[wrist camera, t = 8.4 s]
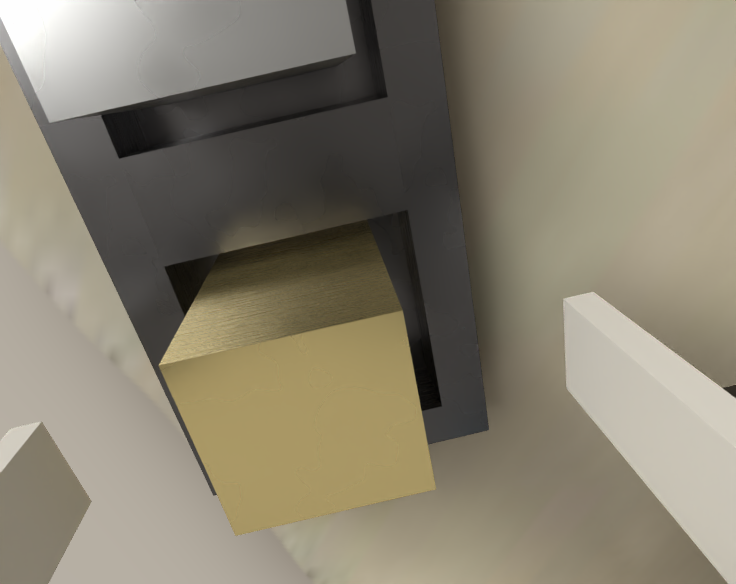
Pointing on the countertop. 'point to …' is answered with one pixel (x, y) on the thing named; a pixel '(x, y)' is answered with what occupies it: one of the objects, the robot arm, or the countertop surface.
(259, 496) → the yellow block
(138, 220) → the dark grey tray
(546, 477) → the countertop surface
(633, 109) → the countertop surface
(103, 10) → the grey block
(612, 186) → the countertop surface
